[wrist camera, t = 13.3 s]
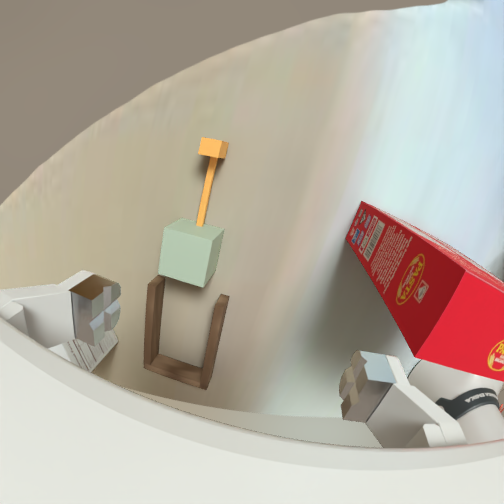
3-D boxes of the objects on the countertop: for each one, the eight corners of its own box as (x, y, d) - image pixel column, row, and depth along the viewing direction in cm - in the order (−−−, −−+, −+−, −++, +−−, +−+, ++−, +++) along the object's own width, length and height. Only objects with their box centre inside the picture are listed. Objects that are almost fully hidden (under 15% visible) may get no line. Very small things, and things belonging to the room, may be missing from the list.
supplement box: (92, 342, 49) (55, 379, 37) (77, 308, 47) (34, 342, 35) (120, 342, 47) (82, 384, 36) (104, 305, 46) (60, 343, 34)
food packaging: (345, 238, 37) (414, 357, 13) (361, 200, 35) (466, 270, 11) (431, 277, 36) (530, 388, 13) (447, 244, 35) (566, 333, 11)
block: (244, 146, 35) (234, 143, 30) (215, 270, 41) (203, 287, 35) (199, 137, 36) (182, 133, 30) (175, 258, 41) (158, 273, 35)
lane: (229, 296, 41) (223, 307, 38) (211, 376, 46) (206, 389, 43) (158, 275, 42) (147, 284, 39) (151, 356, 47) (143, 367, 44)
